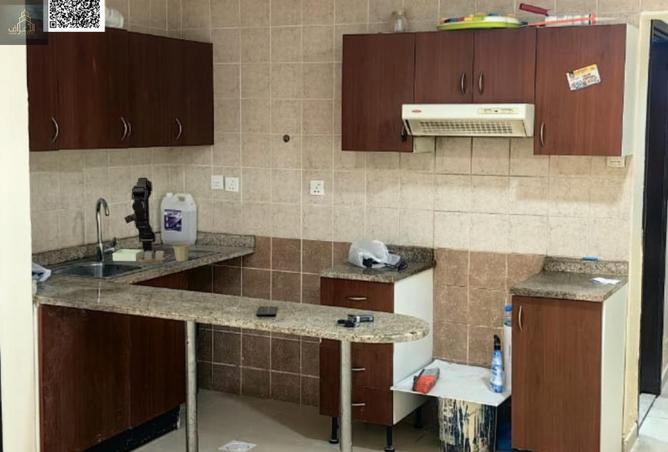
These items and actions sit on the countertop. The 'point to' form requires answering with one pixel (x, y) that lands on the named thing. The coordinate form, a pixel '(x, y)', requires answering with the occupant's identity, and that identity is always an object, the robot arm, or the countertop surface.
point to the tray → (154, 258)
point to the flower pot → (181, 251)
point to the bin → (127, 255)
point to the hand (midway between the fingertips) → (141, 237)
